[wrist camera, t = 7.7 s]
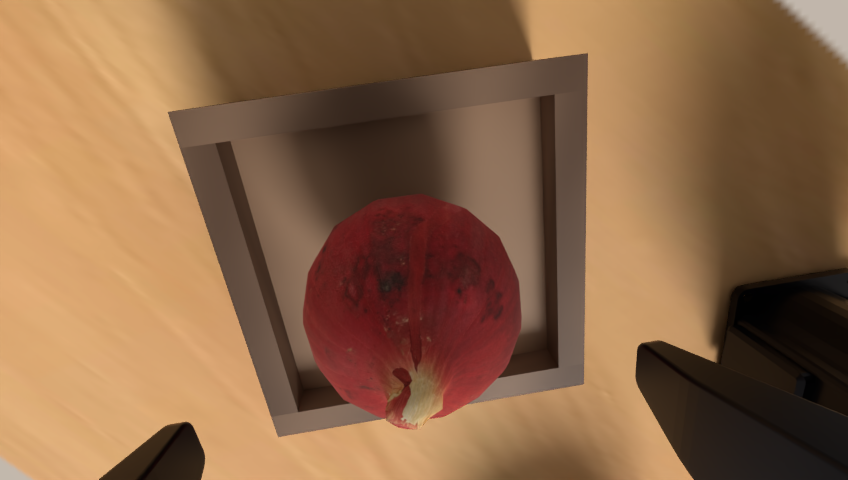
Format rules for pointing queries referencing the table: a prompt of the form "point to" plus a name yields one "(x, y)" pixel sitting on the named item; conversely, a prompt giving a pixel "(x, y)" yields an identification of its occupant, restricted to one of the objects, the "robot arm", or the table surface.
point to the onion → (412, 308)
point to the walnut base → (391, 177)
